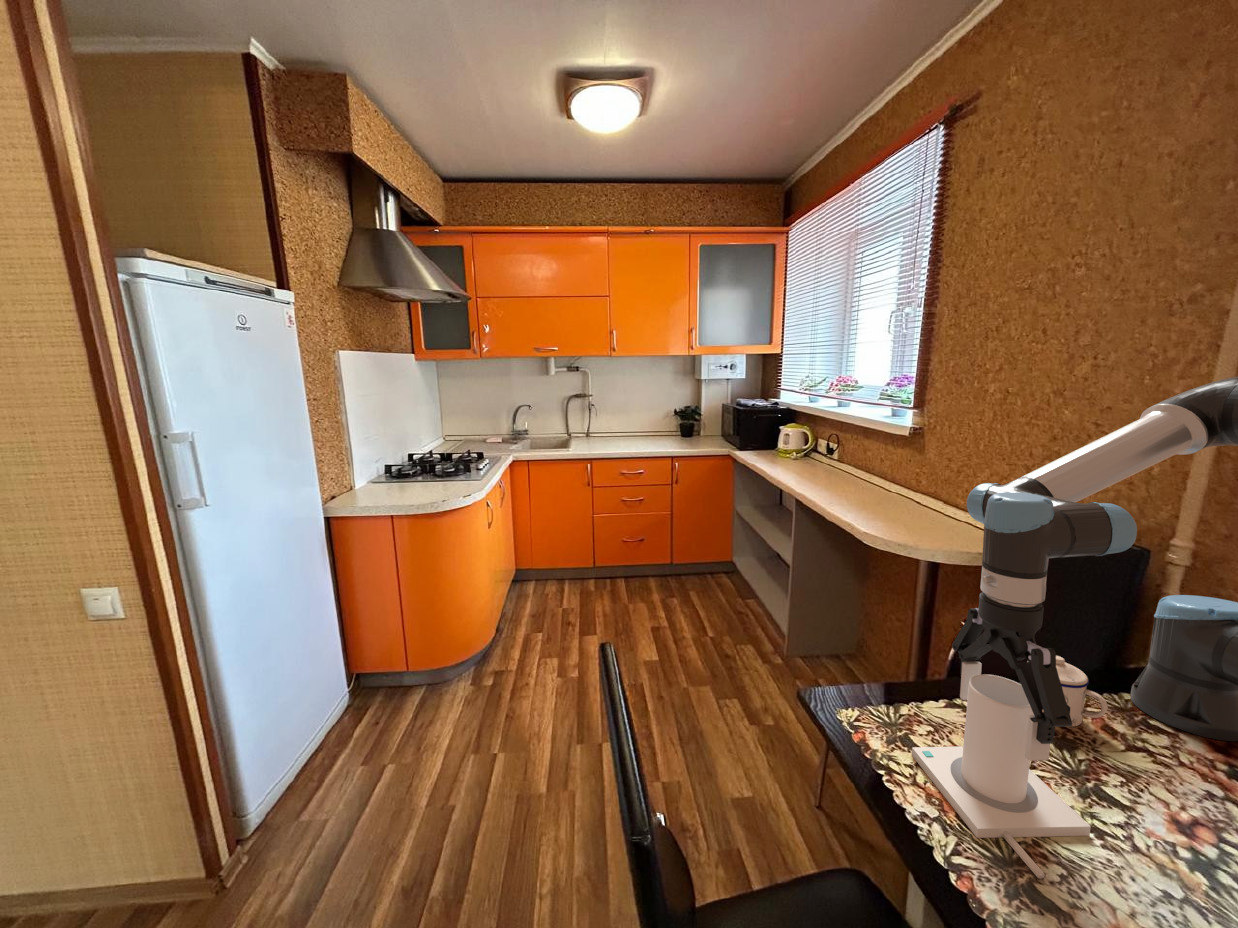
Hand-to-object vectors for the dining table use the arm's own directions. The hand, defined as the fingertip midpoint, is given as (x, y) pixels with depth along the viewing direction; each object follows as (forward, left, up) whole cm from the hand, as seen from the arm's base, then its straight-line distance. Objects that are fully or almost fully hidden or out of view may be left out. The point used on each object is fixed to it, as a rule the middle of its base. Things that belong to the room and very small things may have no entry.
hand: (1000, 725), depth 76 cm
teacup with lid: (-26, -17, -12) cm, 33 cm away
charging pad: (0, +3, -11) cm, 12 cm away
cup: (0, 0, -10) cm, 10 cm away
